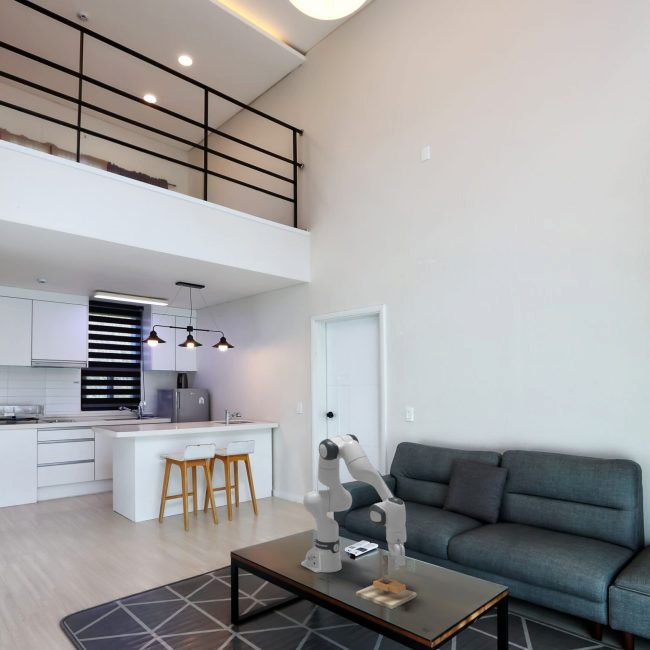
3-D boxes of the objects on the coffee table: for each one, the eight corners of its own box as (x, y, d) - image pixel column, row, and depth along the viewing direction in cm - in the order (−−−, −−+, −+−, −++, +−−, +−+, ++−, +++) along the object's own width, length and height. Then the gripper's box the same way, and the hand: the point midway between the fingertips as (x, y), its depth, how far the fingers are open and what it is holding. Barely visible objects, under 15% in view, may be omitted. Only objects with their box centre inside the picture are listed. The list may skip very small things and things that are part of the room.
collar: (373, 586, 224) (373, 581, 224) (384, 581, 229) (384, 576, 230) (396, 594, 215) (395, 589, 215) (406, 588, 221) (406, 584, 221)
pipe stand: (356, 595, 224) (355, 555, 226) (381, 584, 236) (380, 546, 239) (391, 609, 210) (391, 566, 212) (416, 596, 223) (415, 556, 225)
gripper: (408, 543, 212) (409, 578, 211) (398, 529, 233) (399, 560, 231) (393, 544, 212) (394, 578, 210) (385, 529, 232) (385, 560, 231)
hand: (396, 568), depth 221 cm, fingers closed
